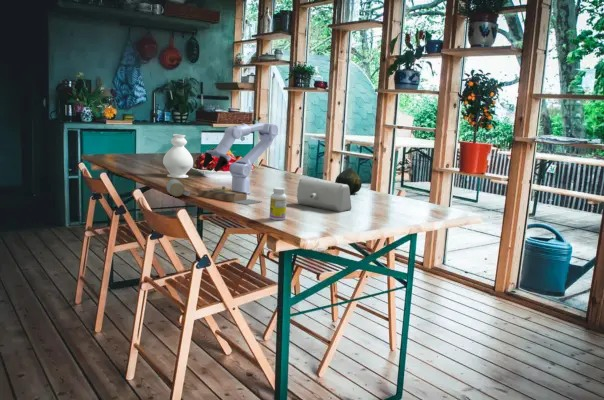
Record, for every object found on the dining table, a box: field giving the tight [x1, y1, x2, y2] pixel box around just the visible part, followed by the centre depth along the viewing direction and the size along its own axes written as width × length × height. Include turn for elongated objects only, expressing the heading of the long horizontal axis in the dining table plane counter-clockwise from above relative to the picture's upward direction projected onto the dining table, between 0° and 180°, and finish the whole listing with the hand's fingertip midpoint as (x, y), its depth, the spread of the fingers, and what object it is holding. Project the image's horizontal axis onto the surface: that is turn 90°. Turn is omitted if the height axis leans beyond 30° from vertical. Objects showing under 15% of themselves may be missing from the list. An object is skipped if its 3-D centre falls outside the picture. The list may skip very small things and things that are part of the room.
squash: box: [334, 167, 363, 195], centre depth 318 cm, size 14×15×15 cm
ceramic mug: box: [166, 178, 191, 198], centre depth 271 cm, size 11×8×8 cm
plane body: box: [197, 187, 248, 203], centre depth 274 cm, size 22×10×4 cm, turn 59°
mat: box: [233, 198, 263, 206], centre depth 267 cm, size 12×8×1 cm, turn 149°
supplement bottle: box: [269, 187, 288, 221], centre depth 231 cm, size 7×7×13 cm
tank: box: [296, 177, 352, 213], centre depth 265 cm, size 25×16×12 cm, turn 54°
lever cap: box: [213, 186, 232, 193], centre depth 274 cm, size 7×5×3 cm
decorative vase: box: [162, 133, 194, 179], centre depth 337 cm, size 18×18×25 cm
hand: (209, 168), depth 273 cm, fingers open, 7 cm apart
